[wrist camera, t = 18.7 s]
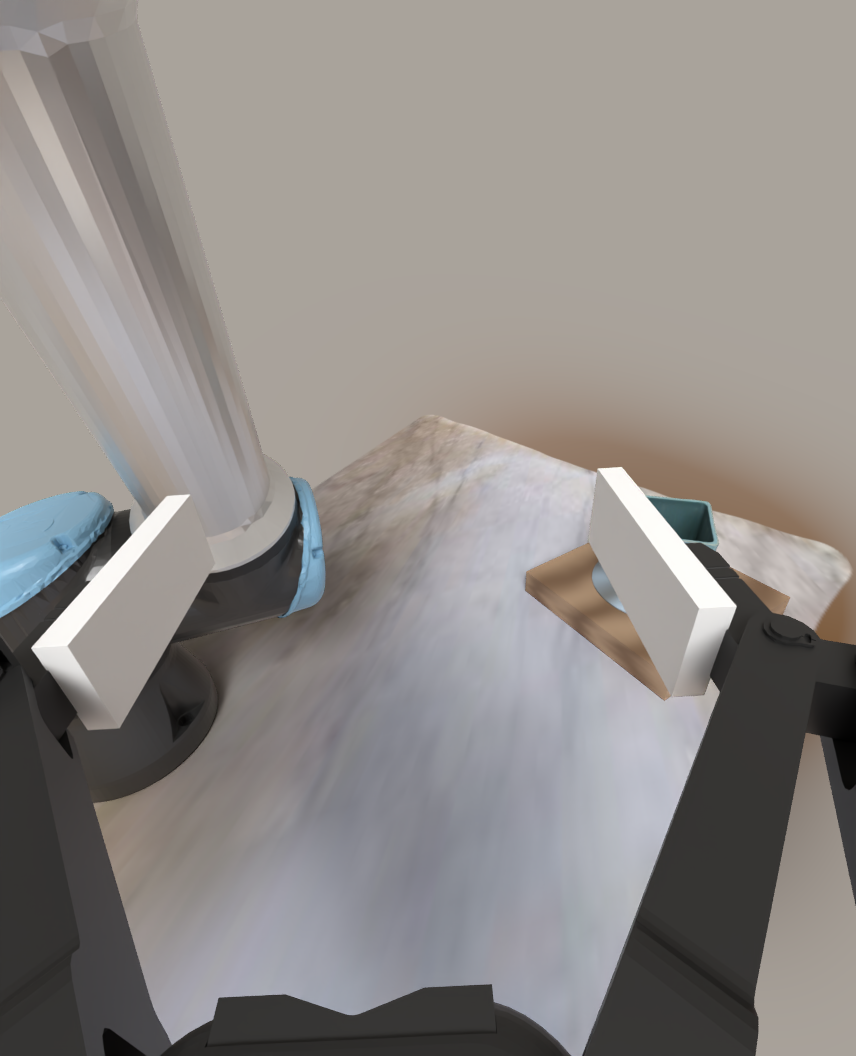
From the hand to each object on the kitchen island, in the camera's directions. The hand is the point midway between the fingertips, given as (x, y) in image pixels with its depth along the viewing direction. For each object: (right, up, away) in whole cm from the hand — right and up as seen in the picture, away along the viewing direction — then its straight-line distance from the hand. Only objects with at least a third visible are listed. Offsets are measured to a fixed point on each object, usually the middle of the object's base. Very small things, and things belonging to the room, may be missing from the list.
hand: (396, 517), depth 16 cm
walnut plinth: (+27, -9, +42) cm, 51 cm away
